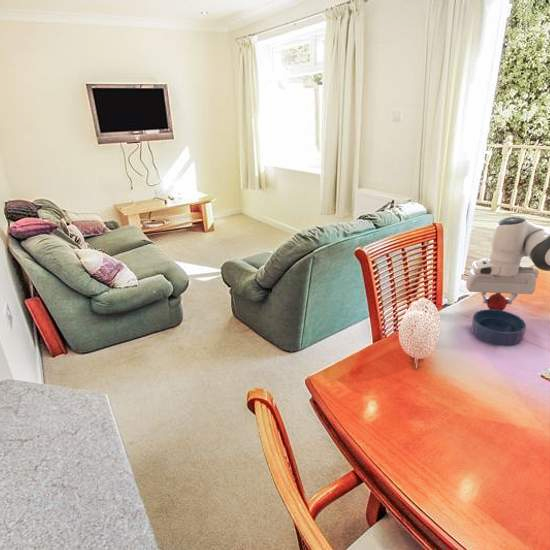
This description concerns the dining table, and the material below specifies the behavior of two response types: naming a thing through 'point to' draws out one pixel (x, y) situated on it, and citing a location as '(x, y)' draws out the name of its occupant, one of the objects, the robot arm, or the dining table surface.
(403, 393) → the dining table surface
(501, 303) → the onion
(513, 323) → the bowl
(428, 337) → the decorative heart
